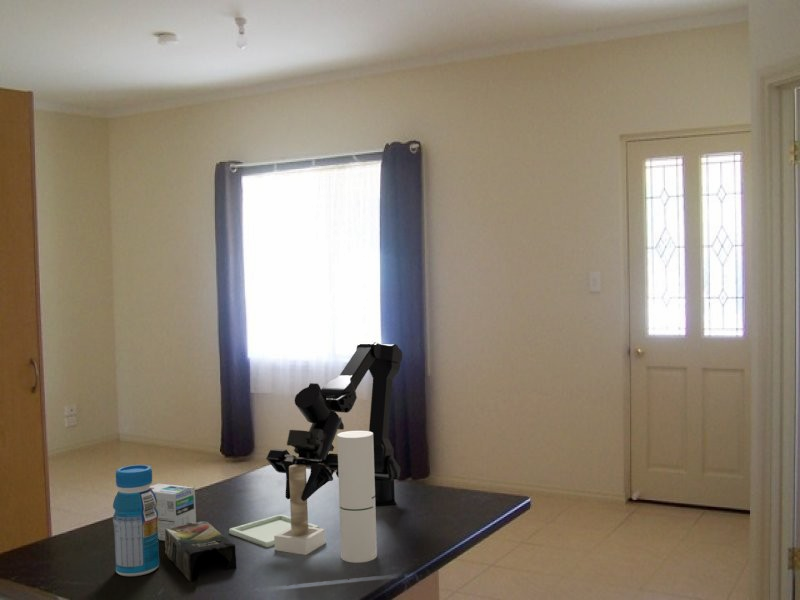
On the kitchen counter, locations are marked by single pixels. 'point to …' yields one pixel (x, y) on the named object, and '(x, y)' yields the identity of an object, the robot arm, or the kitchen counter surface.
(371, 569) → the kitchen counter surface
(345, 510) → the cylindrical container
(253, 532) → the tray
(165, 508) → the light bulb box
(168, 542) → the juice carton
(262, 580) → the kitchen counter surface
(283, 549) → the holder
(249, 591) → the kitchen counter surface
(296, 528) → the dowel
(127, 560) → the beverage bottle
